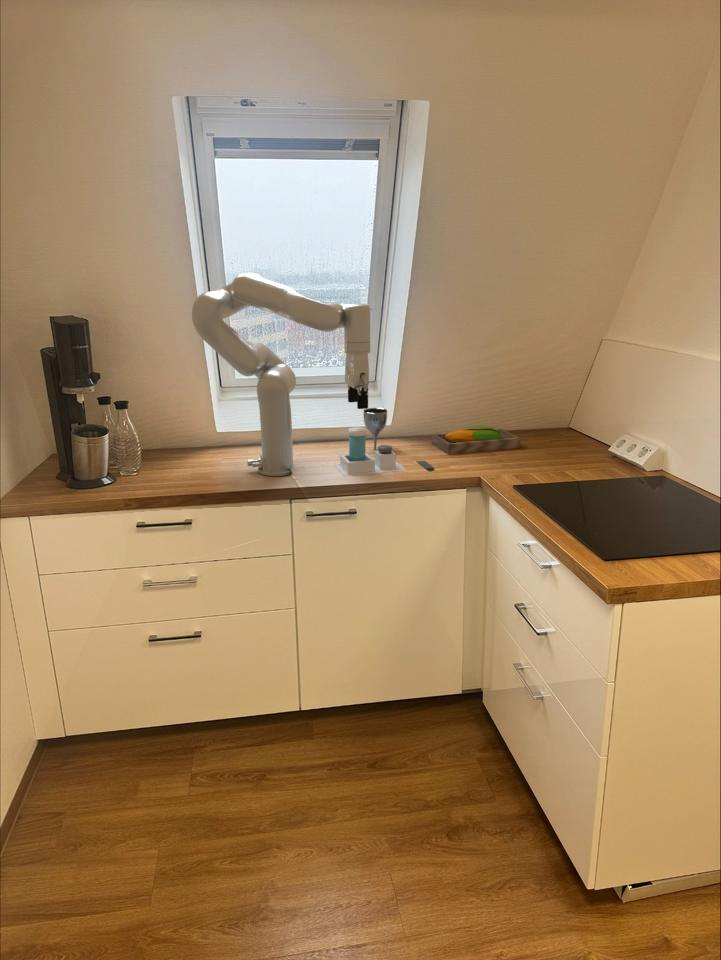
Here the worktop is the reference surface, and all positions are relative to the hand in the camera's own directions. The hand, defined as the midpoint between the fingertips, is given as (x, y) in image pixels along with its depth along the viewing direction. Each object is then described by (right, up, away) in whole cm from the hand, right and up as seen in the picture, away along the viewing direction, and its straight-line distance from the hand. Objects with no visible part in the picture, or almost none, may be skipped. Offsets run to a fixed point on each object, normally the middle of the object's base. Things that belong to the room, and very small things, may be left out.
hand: (357, 405), depth 200 cm
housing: (+4, -20, +8) cm, 22 cm away
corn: (+41, -11, +36) cm, 55 cm away
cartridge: (0, -19, +6) cm, 20 cm away
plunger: (+8, -18, +9) cm, 21 cm away
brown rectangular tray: (+41, -10, +37) cm, 56 cm away
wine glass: (+6, -14, +27) cm, 31 cm away
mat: (+19, -18, +12) cm, 29 cm away
